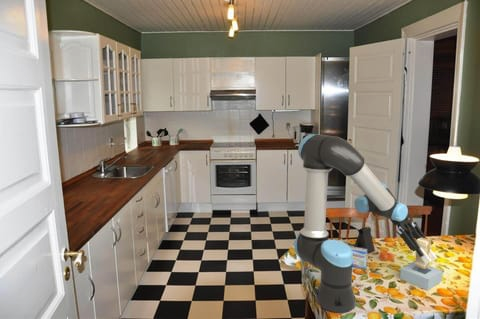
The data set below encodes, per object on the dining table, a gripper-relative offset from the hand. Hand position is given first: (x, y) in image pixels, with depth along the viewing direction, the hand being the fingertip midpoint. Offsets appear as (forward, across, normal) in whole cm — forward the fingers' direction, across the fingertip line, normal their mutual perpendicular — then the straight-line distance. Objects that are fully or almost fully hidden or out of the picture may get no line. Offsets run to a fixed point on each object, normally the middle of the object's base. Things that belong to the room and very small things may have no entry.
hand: (431, 261), depth 149 cm
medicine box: (-13, +10, -28) cm, 32 cm away
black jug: (-19, -8, -34) cm, 40 cm away
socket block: (+5, 0, -10) cm, 11 cm away
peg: (0, 0, -5) cm, 5 cm away
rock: (-9, -7, -25) cm, 28 cm away
